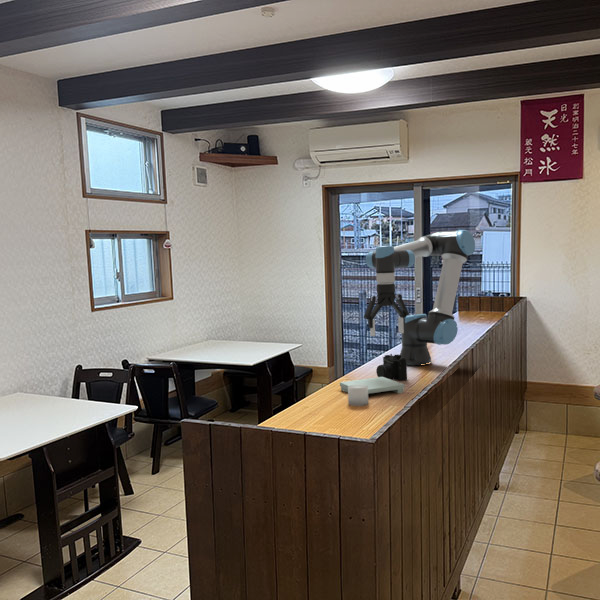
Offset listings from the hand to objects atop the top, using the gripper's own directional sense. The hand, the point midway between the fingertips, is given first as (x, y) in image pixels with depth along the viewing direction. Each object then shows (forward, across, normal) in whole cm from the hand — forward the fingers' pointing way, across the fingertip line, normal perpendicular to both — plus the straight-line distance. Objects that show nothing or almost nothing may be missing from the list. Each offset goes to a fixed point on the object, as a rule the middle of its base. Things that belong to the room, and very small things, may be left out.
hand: (387, 334), depth 232 cm
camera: (+19, 0, 0) cm, 19 cm away
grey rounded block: (+18, +30, +28) cm, 45 cm away
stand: (+18, +17, +15) cm, 29 cm away
